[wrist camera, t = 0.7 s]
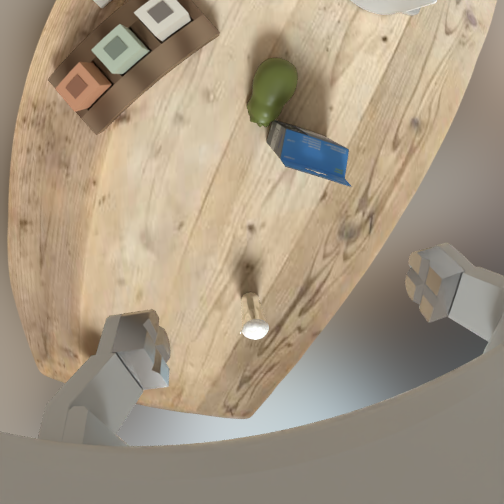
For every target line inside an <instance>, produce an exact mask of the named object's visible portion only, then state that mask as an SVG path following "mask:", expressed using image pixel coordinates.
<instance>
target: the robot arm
mask: <svg viewBox="0 0 504 504" xmlns="http://www.w3.org/2000/svg"><path fill="white" fill-rule="evenodd" d="M350 1H352V2H353V3H354V4H356V5H357V6H359V7H361V8H362V9H364V10H367V11H369V12H372V13H376V14H381V15H390V14H395V13H403V14H407V15H416V14H418V13H419V11H420V8H421V7H424V6H428V5H431V4H434V3H436V2H437V0H350ZM408 264H409V265H410V267H411V268H410V270H409V272H408V273H407V274H406V280H405V284H406V290H407V293H408V295H409V297H410V298H411V299H412V301H414V302H416V303H418V304H420V305H419V310H420V312H421V313H422V314H423V316H424V317H425V318H426V320H427V321H428V322H429V323H430V322H433V321H436V320H439V319H441V318H444V317H447V316H448V317H449V318H451V319H452V320H454V321H456V322H457V323H459V324H461V325H462V326H464V327H465V328H467V329H469V330H471V331H472V332H474V333H475V334H477V335H478V336H480V337H482V338H483V339H485V340H487V341H488V344H487V346H486V348H485V350H484V353H483V354H482V355H481V356H479V357H477V358H476V359H474V360H472V361H470V362H468V363H466V364H464V365H462V366H461V367H459V368H457V369H455V370H453V371H451V372H449V373H447V374H445V375H443V376H440V377H438V378H436V379H434V380H432V381H430V382H428V383H426V384H423V385H421V386H419V387H416V388H414V389H412V390H409V391H407V392H404V393H402V394H399V395H397V396H394V397H392V398H389V399H387V400H384V401H381V402H379V403H376V404H373V405H370V406H367V407H364V408H361V409H358V410H355V411H352V412H349V413H346V414H343V415H339V416H336V417H332V418H329V419H326V420H322V421H318V422H314V423H310V424H307V425H303V426H299V427H294V428H290V429H285V430H281V431H276V432H271V433H266V434H261V435H255V436H249V437H243V438H236V439H229V440H222V441H213V442H205V443H194V444H182V445H164V446H129V445H128V444H127V443H125V442H124V441H123V440H122V439H120V438H119V437H118V436H117V435H116V434H117V433H118V431H119V429H120V428H121V426H122V425H123V423H124V421H125V420H126V418H127V417H128V415H129V413H130V412H131V410H132V409H133V407H134V405H135V404H136V402H137V401H138V399H139V398H140V396H141V394H142V393H143V390H146V389H154V388H162V387H168V385H169V368H168V366H167V364H166V362H167V361H168V360H169V358H170V344H169V339H168V336H167V333H166V331H165V329H164V328H162V327H160V326H159V317H158V315H157V313H156V311H155V310H153V309H151V310H144V311H137V312H130V313H123V314H118V315H111V316H109V317H108V318H107V319H106V322H105V325H104V328H103V332H102V335H101V338H100V342H99V345H98V349H97V352H96V355H92V356H91V357H90V358H89V359H88V360H87V361H86V362H85V363H84V364H83V365H82V366H81V367H80V368H79V369H78V370H77V372H76V373H75V374H74V375H73V376H72V377H71V378H70V379H69V380H68V381H67V382H66V383H65V384H64V386H63V387H62V388H61V389H60V390H59V391H58V392H57V393H56V394H55V395H54V396H53V397H52V399H51V400H50V401H49V402H48V403H47V404H46V407H45V411H44V415H43V419H42V423H41V427H40V431H39V435H38V439H36V438H30V437H25V436H19V435H14V434H10V433H5V432H1V431H0V504H504V276H502V275H499V274H497V273H494V272H492V271H489V270H487V269H484V268H481V267H475V266H474V265H472V263H471V262H470V261H469V260H467V259H466V258H465V257H464V256H463V255H462V254H461V253H460V252H459V251H458V250H457V249H455V248H454V247H453V246H452V245H451V244H449V243H443V244H439V245H436V246H434V247H431V248H427V249H423V250H420V251H416V252H413V253H411V255H410V257H409V262H408Z"/></svg>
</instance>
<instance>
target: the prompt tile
mask: <svg viewBox="0 0 504 504" xmlns="http://www.w3.org/2000/svg"><path fill="white" fill-rule="evenodd" d="M94 1H95V2H96V3H97V5H98V6H99V7H100V8H103V7H105V6H106V5H107V4H108V3H109V2H111V1H112V0H94Z"/></svg>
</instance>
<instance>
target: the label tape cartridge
mask: <svg viewBox="0 0 504 504" xmlns="http://www.w3.org/2000/svg"><path fill="white" fill-rule="evenodd" d="M267 143H268V145H269V146H270V147H271V148H272V149H273V151H274V152H275V153H276V154H277V155H278V157H279V158H280V159H281V161H282V162H283V164H284V165H285V167H288V168H292V169H295V170H298V171H302V172H305V173H308V174H312V175H315V176H318V177H321V178H324V179H328V180H331V181H334V182H337V183H340V184H343V185H346V186H350V187H352V186H351V185H350V184H349V183H348V182H347V181H346V180H345V173H346V166H347V159H348V152H349V150H348V149H347V148H345V147H344V146H342V145H340V144H338V143H336V142H334V141H332V140H331V139H329V138H327V137H326V136H323V135H320V134H317V133H314V132H311V131H308V130H305V129H302V128H299V127H296V126H293V125H290V124H287V123H283V122H280V121H276V120H274V121H272V125H271V128H270V131H269V135H268V138H267ZM305 168H306V169H305ZM307 169H309V170H307ZM311 170H313V171H311ZM314 171H316V172H320V173H323V174H326V175H323V174H318V173H316V172H314Z"/></svg>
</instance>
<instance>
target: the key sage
mask: <svg viewBox="0 0 504 504" xmlns="http://www.w3.org/2000/svg"><path fill="white" fill-rule="evenodd" d="M92 52H93V53H94V54H95V55H96V56H97V57H98V58H99V59H100V60H101V62H102V63H103V64H104V65H105V66H106V67H107V68H108V69H109V71H110V72H111V73H112V74H124V73H125V72H126V71H127V70H128V69H129V68H130V67H132V66H133V65H134V64H135V63H136V62H137V61H138V60H140V59H141V58H142V57H143V56H144V55H146V54H147V53H148V52H149V50H148V49H147V48H146V46H145V45H144V44H143V43H142V42H141V41H140V40H139V39H138V38H137V37H136V35H135V34H134V33H133V32H132V31H131V30H130V29H128V28H127V27H125V26H123V25H121V24H119V25H118V26H117V27H115V28H114V29H113V30H112V31H111V32H110V33H109V34H108V35H106V36H105V37H104V38H103V39H102V40H101V41H100V42H99V43H98V44H97V45H96V46H95V47H94V48H93V49H92Z"/></svg>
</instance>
